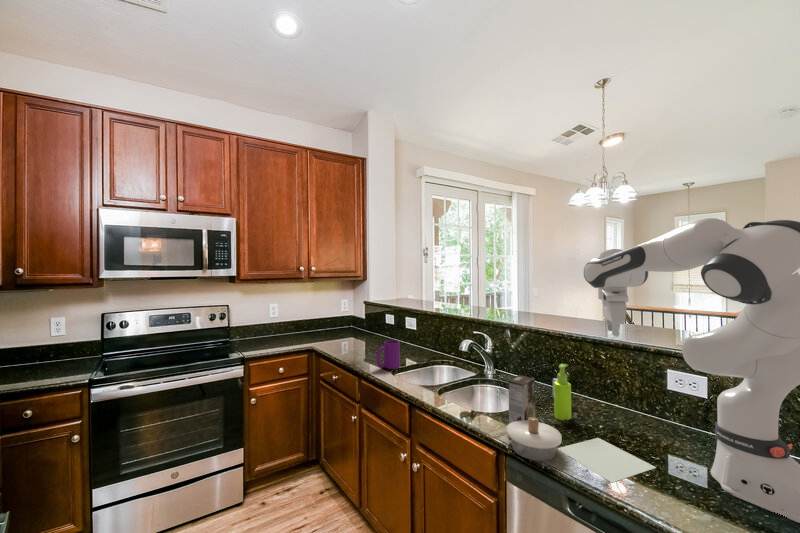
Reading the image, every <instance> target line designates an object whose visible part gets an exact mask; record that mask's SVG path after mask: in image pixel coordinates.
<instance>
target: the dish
mask: <svg viewBox="0 0 800 533" xmlns="http://www.w3.org/2000/svg"><path fill="white" fill-rule="evenodd" d="M506 435H507V439H508V440H509V441H511V446H512V449H513V451H514V452H515V453H516V454H517V455H518V456H520V457H523V458H524V459H528V460H532V461H540V462H542V461H548V460H551V459H553V458H554V457H555V456H556V454H557V447H554V448H549V449H538V448H532V447H528V446H524V445H522V444H519V443H517V442H515V441H514V440H512V439H511V438H510V437H509V436H508V434H507V433H506Z"/></svg>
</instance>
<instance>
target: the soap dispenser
mask: <svg viewBox="0 0 800 533" xmlns="http://www.w3.org/2000/svg"><path fill="white" fill-rule="evenodd" d="M568 366H569V364H567V363H565V364H564V363H560V364H559V365H558V368H559V372H558V373H557V377H556V378H557V379H558V381H555V382H554V398H553V403H554V405H553V406H554V407H553V408H554V412H553V414H554V418H555V419H557V420H558V421H567V420H572V384H571V383H570V382H568V374H567V373H566V372H565V371H566V370H565V368H566V367H568Z"/></svg>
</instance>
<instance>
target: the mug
mask: <svg viewBox="0 0 800 533" xmlns="http://www.w3.org/2000/svg"><path fill="white" fill-rule="evenodd" d="M400 349H401V348H400V341H399V340H395V339H394V340H393V339H392V340H391V339H389V340H385V341H384V343H383V346H380V347H379V348H378V349H377V352H376V356H375V360H376V361H375V362H376V366H378V367H379V368H385V369H387V370H397V369H400V367H401V364H400V358H401V357H400V356H401V355H400V352H401V351H400ZM382 350H383V357H384V358H383V363H381V360H380V355H381V351H382Z"/></svg>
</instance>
